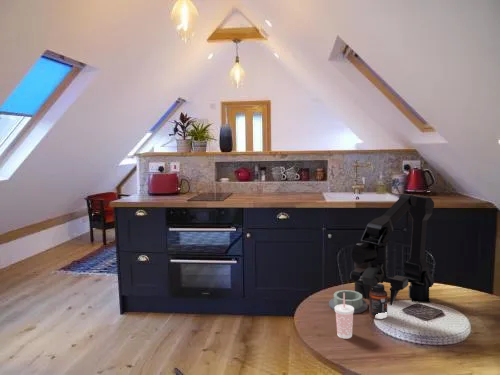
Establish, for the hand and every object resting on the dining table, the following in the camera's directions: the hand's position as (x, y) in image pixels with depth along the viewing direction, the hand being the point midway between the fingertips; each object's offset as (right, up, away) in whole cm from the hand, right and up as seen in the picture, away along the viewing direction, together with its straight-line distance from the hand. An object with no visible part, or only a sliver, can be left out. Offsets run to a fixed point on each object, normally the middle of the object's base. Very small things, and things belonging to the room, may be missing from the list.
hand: (378, 301), depth 138 cm
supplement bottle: (0, -5, +1) cm, 5 cm away
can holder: (-8, -4, +10) cm, 14 cm away
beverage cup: (-15, -7, -12) cm, 20 cm away
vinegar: (+1, -3, +20) cm, 21 cm away
